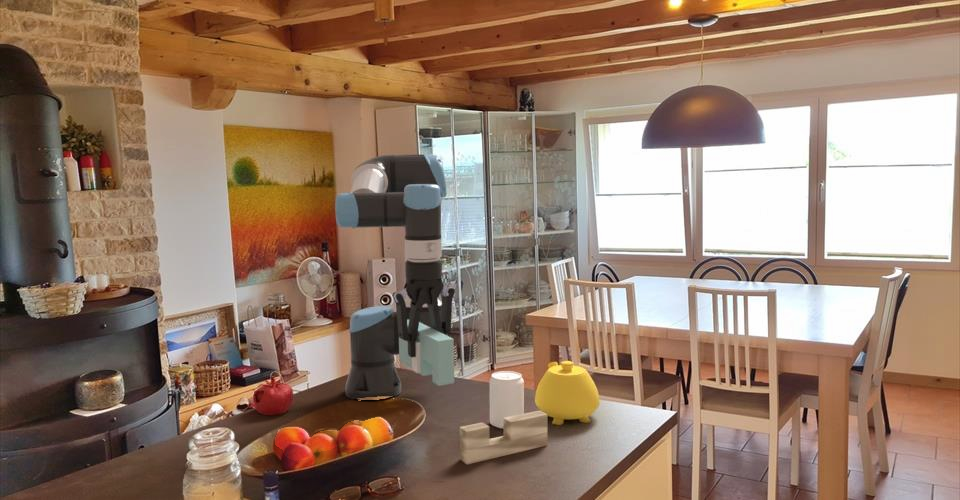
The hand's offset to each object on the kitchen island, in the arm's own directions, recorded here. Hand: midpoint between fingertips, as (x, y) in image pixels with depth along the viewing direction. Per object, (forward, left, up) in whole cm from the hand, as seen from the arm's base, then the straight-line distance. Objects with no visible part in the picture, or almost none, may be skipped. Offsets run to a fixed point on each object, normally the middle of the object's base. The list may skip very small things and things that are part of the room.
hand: (425, 369), depth 146 cm
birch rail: (+7, +15, -18) cm, 25 cm away
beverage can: (-7, +24, -19) cm, 31 cm away
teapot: (-6, +40, -19) cm, 44 cm away
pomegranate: (-45, -22, -19) cm, 53 cm away
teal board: (0, 0, 0) cm, 0 cm away
